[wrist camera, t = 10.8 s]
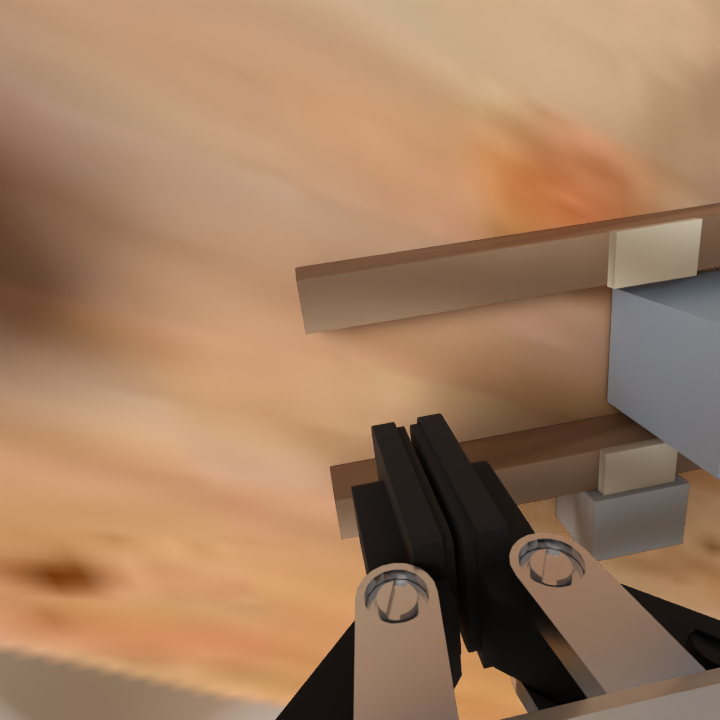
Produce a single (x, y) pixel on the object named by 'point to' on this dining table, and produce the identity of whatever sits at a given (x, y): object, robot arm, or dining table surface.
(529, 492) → the beam slot
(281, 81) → the dining table surface
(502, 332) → the dining table surface
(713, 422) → the block
